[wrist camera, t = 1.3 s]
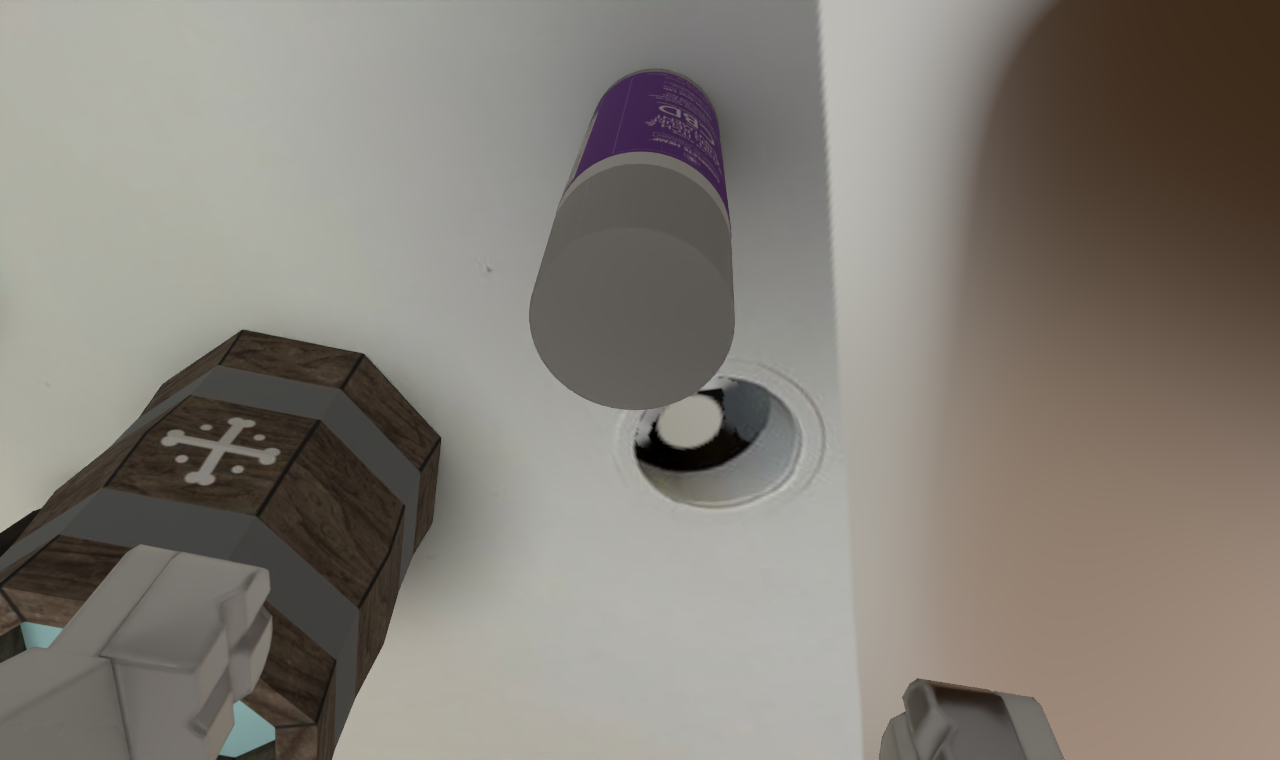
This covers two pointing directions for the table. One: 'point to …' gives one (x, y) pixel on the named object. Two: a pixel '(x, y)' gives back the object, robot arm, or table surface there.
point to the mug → (251, 521)
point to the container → (640, 251)
